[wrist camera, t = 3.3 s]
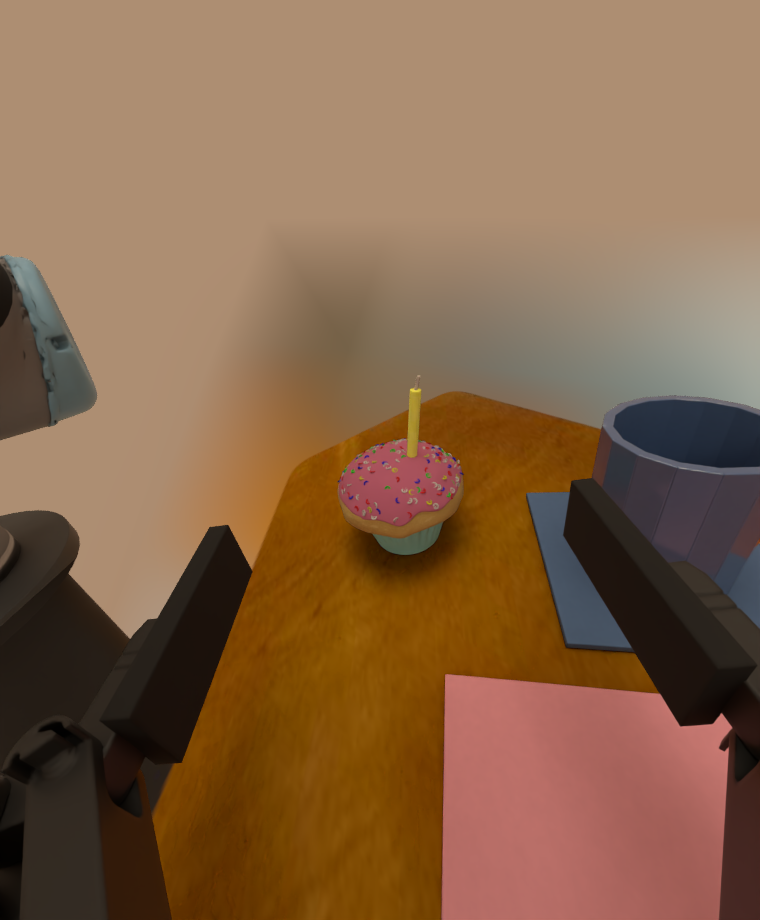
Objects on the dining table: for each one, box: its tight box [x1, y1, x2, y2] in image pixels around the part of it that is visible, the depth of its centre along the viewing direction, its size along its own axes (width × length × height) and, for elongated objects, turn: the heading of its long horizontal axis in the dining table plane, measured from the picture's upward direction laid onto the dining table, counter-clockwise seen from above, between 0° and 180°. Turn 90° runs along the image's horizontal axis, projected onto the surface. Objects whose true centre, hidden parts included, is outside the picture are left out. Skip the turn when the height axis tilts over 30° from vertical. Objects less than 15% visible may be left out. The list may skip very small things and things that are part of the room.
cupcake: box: [338, 375, 464, 555], centre depth 23 cm, size 9×8×12 cm
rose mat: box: [441, 674, 732, 920], centre depth 12 cm, size 14×10×1 cm
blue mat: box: [526, 492, 760, 652], centre depth 22 cm, size 12×12×1 cm
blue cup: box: [592, 396, 760, 595], centre depth 19 cm, size 7×7×9 cm
